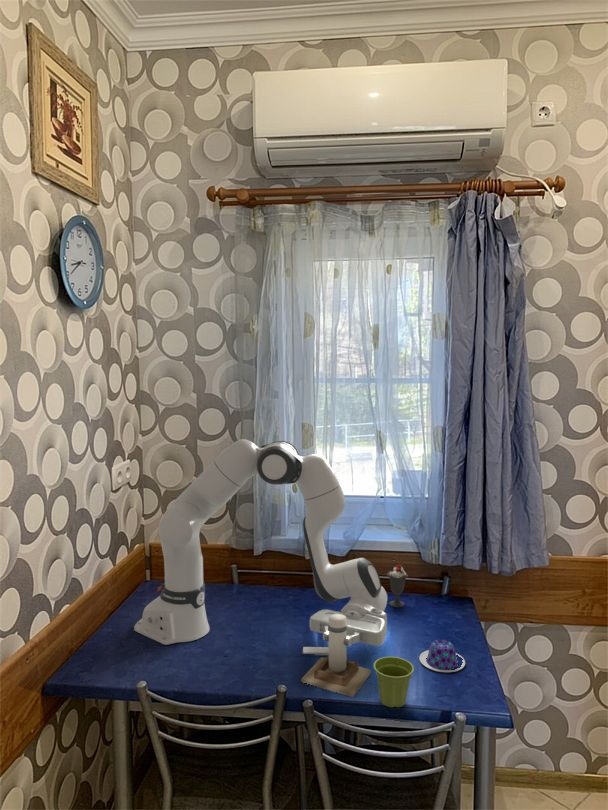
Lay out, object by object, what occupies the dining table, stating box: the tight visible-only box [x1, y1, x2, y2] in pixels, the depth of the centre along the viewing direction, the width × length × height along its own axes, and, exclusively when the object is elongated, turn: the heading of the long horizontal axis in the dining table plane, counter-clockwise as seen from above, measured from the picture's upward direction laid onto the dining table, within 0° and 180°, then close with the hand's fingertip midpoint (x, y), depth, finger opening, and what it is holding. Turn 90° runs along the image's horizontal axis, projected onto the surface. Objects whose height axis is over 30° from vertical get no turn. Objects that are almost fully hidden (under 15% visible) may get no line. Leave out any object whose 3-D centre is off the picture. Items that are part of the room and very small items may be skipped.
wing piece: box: [302, 646, 329, 656], centre depth 171 cm, size 10×3×1 cm, turn 89°
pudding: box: [418, 639, 466, 673], centre depth 166 cm, size 12×12×5 cm
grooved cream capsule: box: [328, 614, 347, 672], centre depth 157 cm, size 5×5×13 cm
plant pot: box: [373, 656, 415, 708], centre depth 147 cm, size 9×9×9 cm
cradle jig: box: [300, 655, 372, 698], centre depth 158 cm, size 14×12×3 cm
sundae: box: [386, 561, 409, 608], centre depth 200 cm, size 7×7×15 cm
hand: (336, 640), depth 156 cm, fingers closed on grooved cream capsule, 4 cm apart
